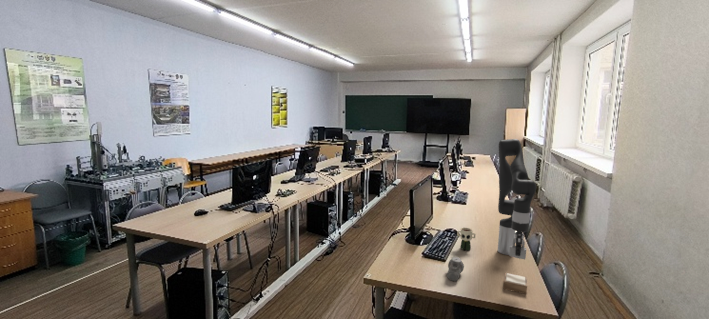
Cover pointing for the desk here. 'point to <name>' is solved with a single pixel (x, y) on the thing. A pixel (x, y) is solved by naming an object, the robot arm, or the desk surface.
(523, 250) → the padlock
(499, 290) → the desk surface
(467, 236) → the character mug
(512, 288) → the base
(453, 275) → the pipe fitting
